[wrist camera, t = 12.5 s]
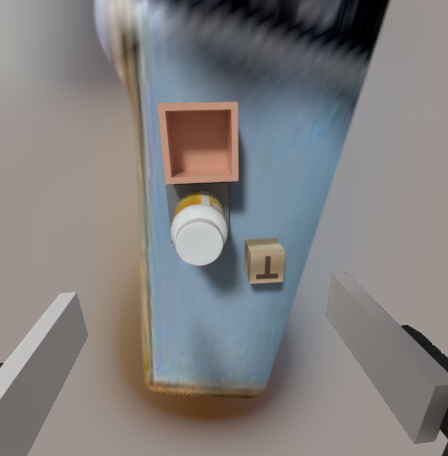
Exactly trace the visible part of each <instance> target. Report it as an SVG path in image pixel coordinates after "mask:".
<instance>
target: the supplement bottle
mask: <svg viewBox="0 0 448 456" xmlns="http://www.w3.org/2000/svg"><path fill="white" fill-rule="evenodd" d="M227 236H228V227H227V223H226V219H225V216H224V213H223V209H222V206H221V204H220V202H219V200H218V199H217V198H216V197H215V196H214V195H213V194H211V193H209V192H207V191H202V190H197V191H192V192H190V193H188V194H186V195H185V196H183V197H182V198H181V200H180V201H179V203H178V205H177V207H176V211H175V215H174V218H173V221H172V225H171V238H172V241H173V243H174V245H175V247H176V250H177V253H178V255H179V256H180V257H181V258H182V259H183V260H184V261H185V262H187V263H189V264H191V265H195V266H203V265H207V264H210V263H212V262H213V261H215V260H216V259H217V258H218V257H219V255H220V253H221V251H222V248H223V246H224V244H225V242H226V240H227Z"/></svg>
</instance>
